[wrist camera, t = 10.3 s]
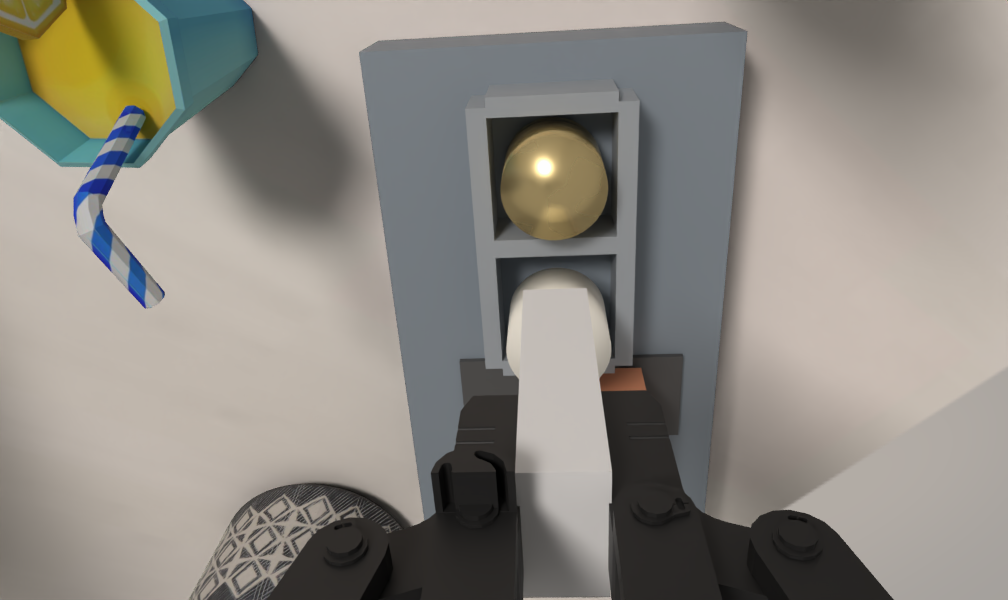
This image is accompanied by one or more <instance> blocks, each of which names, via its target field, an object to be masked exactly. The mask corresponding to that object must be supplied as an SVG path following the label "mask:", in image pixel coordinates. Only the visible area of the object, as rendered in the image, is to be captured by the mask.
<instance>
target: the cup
mask: <svg viewBox="0 0 1008 600" xmlns="http://www.w3.org/2000/svg"><path fill="white" fill-rule="evenodd" d="M257 55H258V49H257V42H256V35H255V29H254V22H253V15H252V8H251V7H249V6H248V5H247V4H246V3H245V2H244V1H243V0H0V119H1V120H3V121H4V122H5V123H6V124H8V125H9V126H10V127H12V128H13V129H14V130H15V131H17V132H18V133H19V134H20V135H22V136H23V137H24V138H25V139H27V140H28V141H29V142H30V143H32V144H33V145H34V146H35V147H37V148H38V149H39V150H40V151H42V152H43V153H44V154H46V155H47V156H48V157H49V158H51V159H52V160H53V161H54V162H56V163H57V164H58V165H59V166H61V167H91V168H90V170H89V171H88V173H87V175H86V177H85V179H84V180H83V182H82V184H81V186H80V188H79V189H78V191H77V193H76V195H75V196H74V219H75V224H76V228H77V233H78V236H79V237H80V238H81V239H82V241H83V242H84V243H85V244H86V245H87V246H88V247H89V248H90V249H91V250H92V251H93V252H94V254H95V255H96V256H97V257H98V258H99V259H100V260H101V261H102V262H103V263H104V264H105V266H106V267H107V268H108V269H109V270H110V271H111V272H112V273H113V274H114V275H115V276H116V277H117V279H118V280H119V281H120V282H121V283H122V284H123V285H124V286H125V287H126V288H127V289H128V290H129V292H130V293H131V294H132V295H133V296H134V297H135V298H136V299H137V300H138V301H139V302H140V303H141V305H142V306H143V307H144V308H152V307H153V306H155V305H157V304H158V303H159V302H160V301H161V300H162V299H163V298H164V297H165V293H164V291H163V290H162V289H161V287H160V286H159V285H158V284H157V283H156V281H155V280H154V279H153V278H152V277H151V275H150V274H149V273H148V272H147V271H146V270H145V268H144V267H143V266H142V265H141V264H140V262H139V261H138V260H137V259H136V258H135V257H134V255H133V254H132V253H131V252H130V251H129V249H128V248H127V247H126V246H125V245H124V244H123V242H122V241H121V240H120V239H119V238H118V236H117V235H116V234H115V233H114V232H113V231H112V229H111V228H110V227H109V226H108V225H107V223H106V222H105V219H104V215H103V208H102V204H103V202H104V200H105V198H106V196H107V194H108V192H109V190H110V188H111V186H112V184H113V182H114V180H115V178H116V176H117V174H118V172H119V170H120V168H121V167H132V168H140V167H141V166H142V165H143V164H144V163H146V162H147V161H148V160H149V159H150V158H151V157H152V156H153V154H154V153H155V152H156V150H157V149H158V148H159V147H160V145H161V144H162V143H163V141H164V140H165V139H166V138H167V136H168V135H169V134H170V133H172V132H173V131H174V130H176V129H177V128H178V127H180V126H181V125H182V124H183V123H185V122H186V121H187V120H189V119H190V118H191V117H193V116H194V115H195V114H197V113H198V112H199V111H201V110H202V109H203V108H204V107H206V106H207V105H208V104H210V103H211V102H212V101H214V100H215V99H216V98H218V97H219V96H220V95H221V94H223V93H224V92H225V91H227V90H228V89H229V88H231V87H232V86H233V85H234V84H235V83H236V82H237V80H238V79H239V78H240V77H241V75H242V74H243V73H244V72H245V70H246V69H247V68H248V67H249V65H250V64H251V63H252V62H253V60H254V59H255V58H256V57H257Z"/></svg>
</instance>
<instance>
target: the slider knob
mask: <svg viewBox="0 0 1008 600" xmlns="http://www.w3.org/2000/svg"><path fill="white" fill-rule="evenodd" d="M599 381H600V388H601V391H629V390H646V387H645V382H644V378H643V374H642V369H641V368H615V373H607V374H602V376H601V377H600V378H599Z"/></svg>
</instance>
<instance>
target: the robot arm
mask: <svg viewBox="0 0 1008 600" xmlns="http://www.w3.org/2000/svg"><path fill="white" fill-rule="evenodd" d="M431 480H432V488H433V496H434V503H435V511H436V513H435V514H433V515H432V516H431V517H430V518H428V519H427V520H425V521H423V522H421V523H420V524H417V525H414V526H412V527H409V528H406V529H402V530H398V531H394V532H391V533H386V530H385V529H384V528H383V527H382V526H381V525H380V524H379V523H378V522H375V521H372V520H370V519H367V518H352V517H349V518H345V519H341V520H338V521H334V522H332V523H330V524H328V525H326V526H324V527H323V528H321V529H319V530H318V531H317V532H316V533H315V534H314V535H313V536H312V537H311V538H310V539H309V540H308V541H307V543H306V544H305V546H304V547H303V548H302V550H301V551H300V553H299V554H298V556H297V557H296V558H295V560H294V561H293V563H292V564H291V566H290V567H289V568H288V570H287V571H286V573H285V574H284V576H283V577H282V578H281V580H280V581H279V583H278V584H277V586H276V587H275V588H274V590H273V591H272V593H271V594H270V596H269V597H268V598H267V600H523V598H533V597H610V590H611V598H612V600H893V598H892V597H891V596H890V595H889V594H888V592H887V591H886V590H885V589H884V588H883V587H882V585H881V584H880V583H879V582H878V581H877V580H876V578H875V577H874V576H873V575H872V574H871V572H870V571H869V570H868V569H867V568H866V567H865V565H864V564H863V563H862V562H861V561H860V559H859V558H858V557H857V556H856V555H855V554H854V552H853V551H852V550H851V549H850V548H849V546H848V545H847V544H846V543H845V542H844V541H843V539H842V538H841V537H840V536H839V535H838V534H837V533H836V532H835V531H834V530H833V529H832V528H831V527H830V526H828V525H827V524H826V523H825V522H823V521H821V520H819V519H817V518H815V517H813V516H811V515H809V514H806V513H801V512H796V511H792V510H779V511H771V512H769V513H766V514H764V515H761V516H759V517H758V519H757V520H756V521H755V522H754V523H753V524H752V526H751V528H749V527H745V526H740V525H736V524H732V523H728V522H724V521H721V520H718V519H715V518H713V517H711V516H709V515H707V514H705V513H703V512H702V511H700V510H699V509H698V508H697V507H696V506H695V504H694V502H693V501H692V499H691V498H690V497H689V496H688V495H686V494H685V492H684V490H683V487H682V483H681V479H680V475H679V471H678V468H677V464H676V460H675V456H674V453H673V449H672V445H671V441H670V439H669V434H668V430H667V426H666V425H665V419H664V415H663V411H662V407H661V404H660V403H659V402H658V401H657V400H656V399H655V398H654V397H653V396H652V395H651V394H650V393H649V392H648V391H647V390H629V391H601V388H600V381H599V374H598V367H597V359H596V352H595V345H594V338H593V331H592V323H591V316H590V309H589V302H588V295H587V288H569V289H538V290H523V307H522V329H521V351H520V373H519V395H485V396H473V397H472V398H471V399H470V400H469V401H468V403H467V404H466V405H465V406H464V407H463V409H462V410H461V412H460V418H459V424H458V431H457V435H456V445H455V447H454V451H451V452H449V453H446V454H445V455H444V456H443V457H441V458H440V459H439V460H438V461H437V462H436V463H435V465H434V467H433V469H432V471H431Z"/></svg>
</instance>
